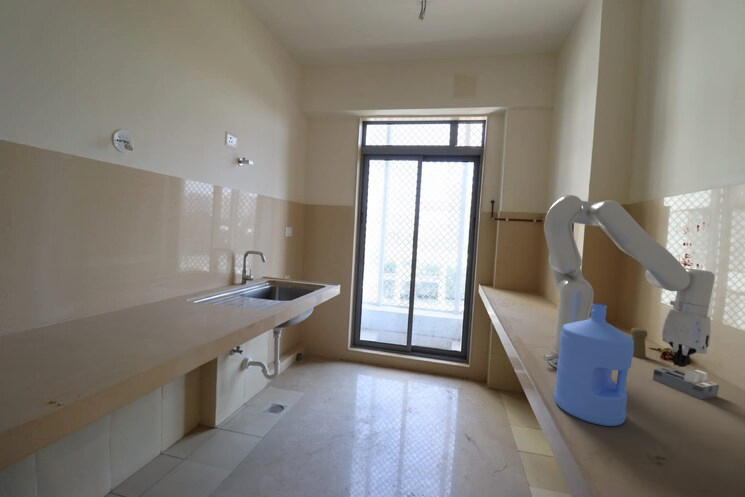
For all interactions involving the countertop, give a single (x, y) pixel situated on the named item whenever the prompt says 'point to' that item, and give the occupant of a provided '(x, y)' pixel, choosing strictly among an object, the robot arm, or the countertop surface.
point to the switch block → (685, 383)
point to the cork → (639, 342)
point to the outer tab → (701, 375)
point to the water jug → (593, 369)
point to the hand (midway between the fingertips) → (679, 365)
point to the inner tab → (691, 377)
